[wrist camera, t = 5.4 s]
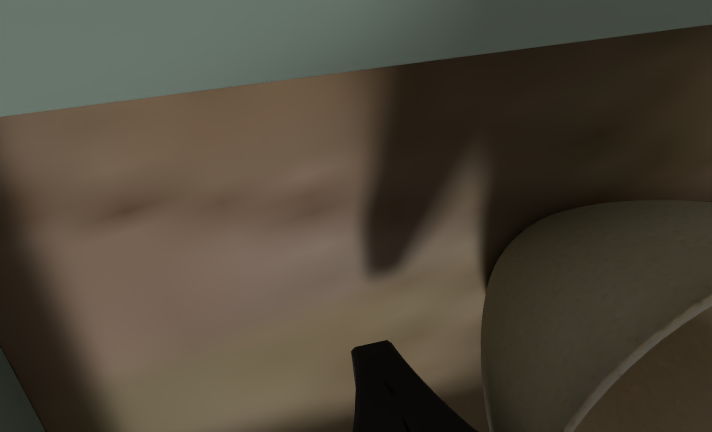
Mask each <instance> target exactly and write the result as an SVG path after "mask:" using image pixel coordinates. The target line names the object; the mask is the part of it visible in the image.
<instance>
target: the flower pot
mask: <svg viewBox="0 0 712 432" xmlns="http://www.w3.org/2000/svg"><path fill="white" fill-rule="evenodd" d="M481 369H482V383H483V392H484V400H485V409H486V414H487V420H488V425H489V431H490V432H712V202H707V201H691V200H636V201H619V202H609V203H601V204H594V205H589V206H583V207H578V208H573V209H569V210H565V211H562V212H558V213H555V214H553V215H550V216H548V217H545V218H543V219H541V220H539V221H537V222H536V223H534V224H532V225H531V226H529V227H528V228H526V229H525V230H524V231H522V232H521V233H520V234H519V235H518V236H517V237H515V238H514V239H513V240H512V241H511V243H510V244H509V245H508V246H507V247H506V249H505V250H504V251H503V252H502V254H501V256H500V257H499V259H498V260H497V262H496V264H495V266H494V268H493V271H492V273H491V276H490V279H489V283H488V287H487V291H486V296H485V301H484V308H483V315H482V326H481Z"/></svg>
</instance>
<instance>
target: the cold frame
mask: <svg viewBox="0 0 712 432" xmlns="http://www.w3.org/2000/svg"><path fill="white" fill-rule="evenodd" d="M711 24H712V0H0V117H2V116H9V115H17V114H25V113H33V112H40V111H48V110H56V109H63V108H71V107H79V106H87V105H94V104H102V103H110V102H117V101H125V100H133V99H141V98H148V97H156V96H164V95H171V94H179V93H187V92H195V91H202V90H210V89H218V88H225V87H233V86H241V85H249V84H256V83H264V82H272V81H279V80H287V79H295V78H303V77H310V76H318V75H326V74H333V73H341V72H349V71H357V70H364V69H372V68H380V67H387V66H395V65H403V64H411V63H418V62H426V61H434V60H441V59H449V58H457V57H465V56H472V55H480V54H488V53H495V52H503V51H511V50H519V49H526V48H534V47H542V46H549V45H557V44H565V43H573V42H580V41H588V40H596V39H603V38H611V37H619V36H627V35H634V34H642V33H650V32H657V31H665V30H673V29H681V28H688V27H696V26H704V25H711ZM0 432H46V431H45V430H44V428H43V426H42V424H41V422H40V420H39V418H38V417H37V415H36V413H35V411H34V409H33V407H32V405H31V403H30V402H29V400H28V398H27V396H26V394H25V392H24V390H23V388H22V387H21V385H20V383H19V381H18V379H17V377H16V375H15V373H14V372H13V370H12V368H11V366H10V364H9V362H8V360H7V358H6V357H5V355H4V353H3V351H2V349H1V347H0Z"/></svg>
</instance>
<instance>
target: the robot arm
mask: <svg viewBox="0 0 712 432" xmlns="http://www.w3.org/2000/svg"><path fill="white" fill-rule="evenodd" d="M351 354H352V362H353V370H354V377H355V385H356V399H355V417H354V426H353V432H477V431H476V430H475V429H474V428H473V427H471V426H470V425H469V424H468V423H467V422H465V421H464V420H463V419H462V418H461V417H460V416H459V415H458V414H456V413H455V412H454V411H453V410H452V409H451V408H450V407H449V406H448V405H447V404H446V403H445V402H443V401H442V400H441V399H440V398H439V397H438V396H437V395H436V394H435V393H434V392H433V391H432V390H431V389H430V388H429V386H428V385H427V384H426V383H425V382H424V381H423V380H422V379H421V378H420V377H419V376H418V375H417V374H416V373H415V372H414V370H413V369H412V368H411V367H410V366H409V365H408V364H407V362H406V361H405V360H404V359H403V358H402V356H401V355H400V354H399V352H398V351H397V350H396V349H395V347H394V346H393V344H392V343H391V342H389V341H388V340H386V341H381V342H376V343H372V344H367V345H363V346H358V347H355V348H354V349H353V350H352V351H351Z"/></svg>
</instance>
